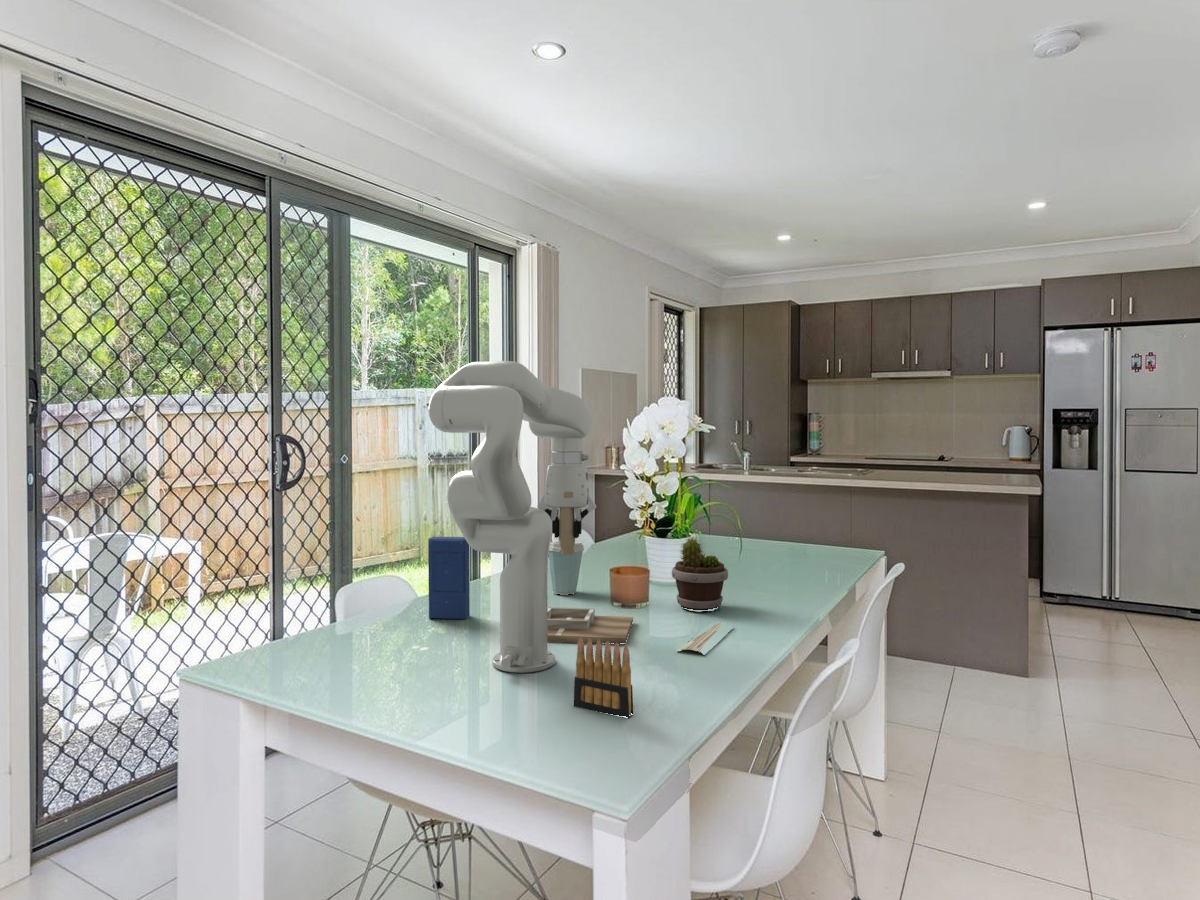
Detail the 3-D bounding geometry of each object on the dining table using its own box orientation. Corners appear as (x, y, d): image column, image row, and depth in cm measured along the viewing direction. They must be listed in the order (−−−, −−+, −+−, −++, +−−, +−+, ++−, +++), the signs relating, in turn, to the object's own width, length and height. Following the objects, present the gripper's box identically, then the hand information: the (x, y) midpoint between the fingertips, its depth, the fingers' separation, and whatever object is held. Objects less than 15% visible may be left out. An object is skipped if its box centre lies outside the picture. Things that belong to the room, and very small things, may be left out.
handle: (561, 551, 175) (561, 489, 175) (584, 554, 172) (583, 490, 171) (549, 554, 171) (549, 491, 170) (572, 557, 168) (572, 492, 167)
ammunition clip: (633, 715, 120) (633, 643, 120) (628, 719, 119) (628, 646, 118) (579, 702, 126) (579, 634, 125) (573, 706, 124) (573, 636, 124)
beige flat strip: (704, 659, 151) (703, 651, 151) (671, 655, 154) (671, 647, 154) (733, 630, 172) (733, 623, 172) (705, 627, 175) (705, 620, 175)
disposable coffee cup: (543, 590, 212) (543, 539, 211) (578, 588, 215) (578, 537, 215) (551, 598, 202) (551, 544, 201) (589, 595, 205) (589, 543, 204)
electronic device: (470, 615, 184) (470, 536, 183) (464, 620, 179) (464, 539, 178) (434, 614, 185) (433, 535, 184) (427, 619, 180) (427, 539, 179)
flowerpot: (699, 598, 202) (699, 526, 201) (740, 609, 189) (740, 533, 189) (659, 606, 193) (659, 531, 192) (699, 618, 181) (700, 538, 180)
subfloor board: (625, 645, 159) (625, 629, 159) (527, 640, 162) (527, 625, 162) (632, 623, 177) (632, 608, 177) (544, 619, 180) (544, 605, 180)
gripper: (604, 458, 173) (604, 535, 174) (535, 458, 175) (535, 534, 176) (599, 460, 166) (599, 540, 166) (528, 459, 168) (528, 538, 169)
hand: (566, 536), depth 171 cm, fingers closed on handle, 4 cm apart
